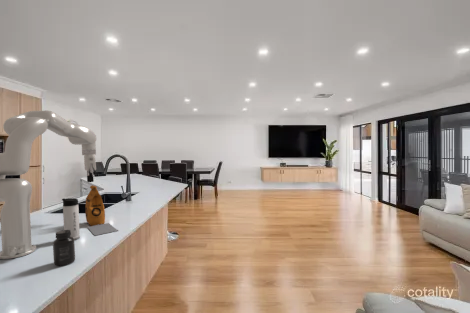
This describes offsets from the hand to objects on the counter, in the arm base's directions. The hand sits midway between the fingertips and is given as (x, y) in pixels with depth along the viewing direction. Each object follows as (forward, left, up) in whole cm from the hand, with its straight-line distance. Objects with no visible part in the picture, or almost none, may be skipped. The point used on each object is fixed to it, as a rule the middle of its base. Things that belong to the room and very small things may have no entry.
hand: (90, 181), depth 160 cm
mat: (-28, 0, -23) cm, 37 cm away
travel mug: (-35, +15, -24) cm, 45 cm away
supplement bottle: (-64, +21, -24) cm, 72 cm away
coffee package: (-12, 0, -24) cm, 27 cm away
